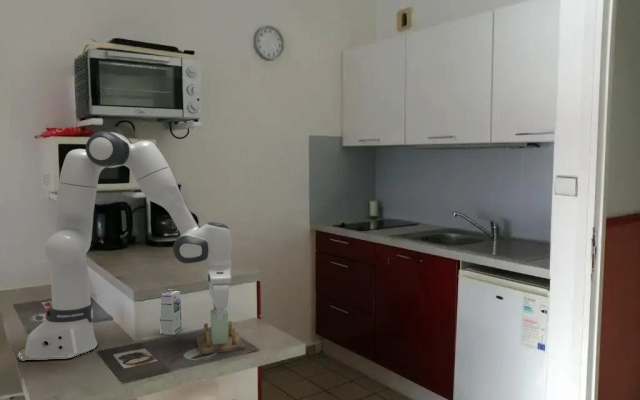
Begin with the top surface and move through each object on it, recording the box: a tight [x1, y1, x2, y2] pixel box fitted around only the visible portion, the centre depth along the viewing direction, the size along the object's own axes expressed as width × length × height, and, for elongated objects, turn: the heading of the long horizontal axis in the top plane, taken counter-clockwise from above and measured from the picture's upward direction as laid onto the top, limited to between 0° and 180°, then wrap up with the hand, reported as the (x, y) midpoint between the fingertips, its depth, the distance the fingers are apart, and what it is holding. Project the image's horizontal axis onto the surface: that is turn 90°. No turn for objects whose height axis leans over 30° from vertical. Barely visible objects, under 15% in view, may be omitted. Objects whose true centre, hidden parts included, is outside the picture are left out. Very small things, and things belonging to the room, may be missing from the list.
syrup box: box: [160, 290, 183, 336], centre depth 186 cm, size 6×6×14 cm
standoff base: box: [195, 320, 246, 355], centre depth 173 cm, size 14×14×6 cm
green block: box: [210, 308, 229, 345], centre depth 173 cm, size 5×5×10 cm
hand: (217, 314), depth 172 cm, fingers open, 8 cm apart
